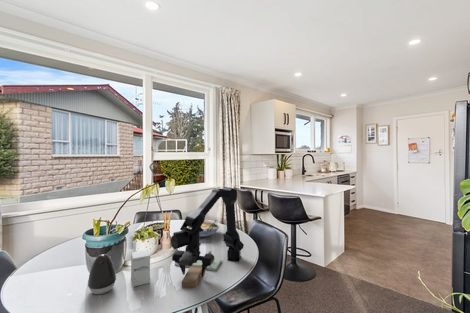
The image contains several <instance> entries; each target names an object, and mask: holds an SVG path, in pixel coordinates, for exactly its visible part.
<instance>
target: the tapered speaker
mask: <svg viewBox="0 0 470 313" xmlns="http://www.w3.org/2000/svg"><path fill="white" fill-rule="evenodd" d="M116 274H117V273H116V269H115V266H114V263H113V261H112V258H111V257H110V256H109V255H108V254H106V253H102V254H99V255H98V256H96V257H95V259H94V261H93V262H92V265H91V268H90V272H89V275H88V280H87V281H88V282H87V287H88V288H89V291H90V292H91V293H92V294H95V295H102V294H106V293H107V292H108V293H109V291H111V290H112V289H113V287H114V286H115V283H116V280H117V275H116Z"/></svg>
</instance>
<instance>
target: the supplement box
mask: <svg viewBox="0 0 470 313" xmlns="http://www.w3.org/2000/svg"><path fill="white" fill-rule="evenodd" d="M130 259H131V261H130V281H131V286H132V287H131V288H134V287H137V286H141V285H142V286H143V285H145V284H150V282H151V255H150V252H149V249H144V250H137V251H133V252H130Z"/></svg>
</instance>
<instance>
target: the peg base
mask: <svg viewBox="0 0 470 313" xmlns="http://www.w3.org/2000/svg"><path fill="white" fill-rule="evenodd" d="M207 254H212V251H211V250H209V251H207ZM221 263H222V259H221V258H214V261H213V263H212V264H211V265H210V266H208V267H207V268H206V271H213V272H216V271H217V270H218V268H219V266H220V265H221ZM192 265H202V261H200V260H198V261H197V263H193V264H192ZM174 266H178V267H180V266H179V264H178V263H175V262H174ZM185 268H190V266H186V265H185Z"/></svg>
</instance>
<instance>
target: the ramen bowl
mask: <svg viewBox="0 0 470 313" xmlns="http://www.w3.org/2000/svg"><path fill="white" fill-rule="evenodd" d="M220 226H221V224H220V223H219V222H218V221H217V219H215V220H209V219H205V220H204V222H203V224H202V225H201V228H202V229H203V230H204V231H202V232H200V238H207V237H209V236H212V235H214V234H215V233H216V232H217V231H218V230H219V228H220ZM187 228H189V229H192V228H191V227H188V226H187Z"/></svg>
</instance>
